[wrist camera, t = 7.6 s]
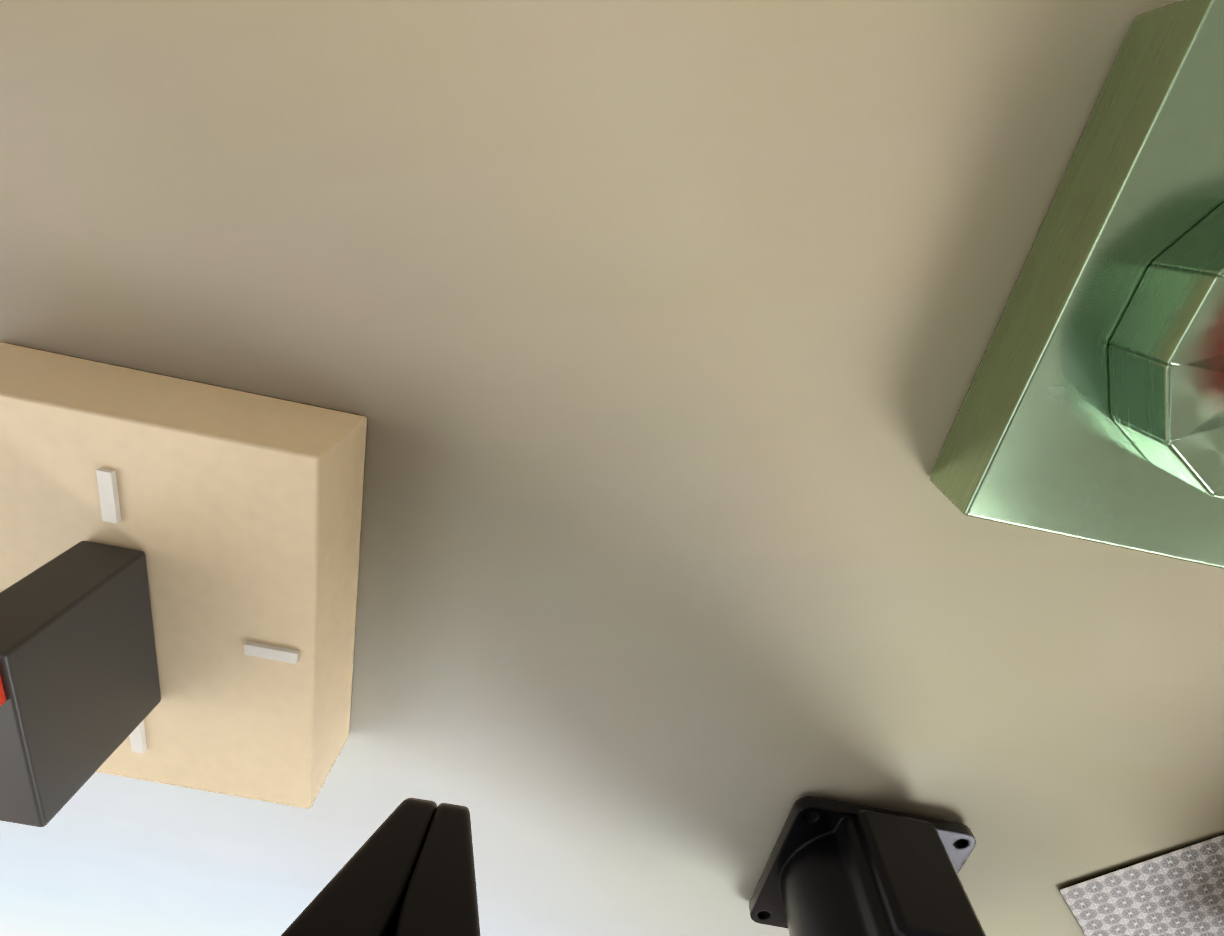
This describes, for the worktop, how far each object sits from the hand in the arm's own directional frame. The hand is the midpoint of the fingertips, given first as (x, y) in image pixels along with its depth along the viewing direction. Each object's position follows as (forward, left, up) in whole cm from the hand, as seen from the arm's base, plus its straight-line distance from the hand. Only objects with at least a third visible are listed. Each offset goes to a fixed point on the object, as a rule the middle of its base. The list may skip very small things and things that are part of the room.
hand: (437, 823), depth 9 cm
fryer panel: (-5, +10, -11) cm, 16 cm away
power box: (+8, -15, -11) cm, 20 cm away
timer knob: (-5, +10, -8) cm, 14 cm away
